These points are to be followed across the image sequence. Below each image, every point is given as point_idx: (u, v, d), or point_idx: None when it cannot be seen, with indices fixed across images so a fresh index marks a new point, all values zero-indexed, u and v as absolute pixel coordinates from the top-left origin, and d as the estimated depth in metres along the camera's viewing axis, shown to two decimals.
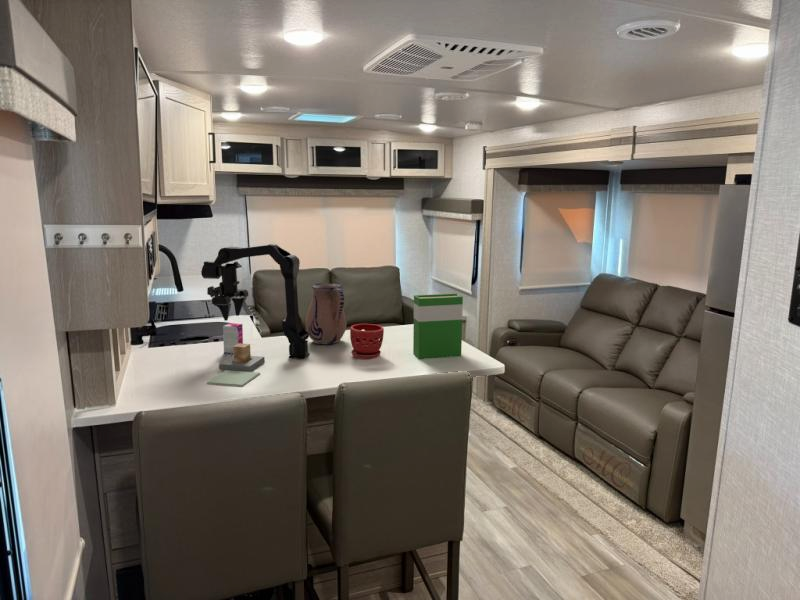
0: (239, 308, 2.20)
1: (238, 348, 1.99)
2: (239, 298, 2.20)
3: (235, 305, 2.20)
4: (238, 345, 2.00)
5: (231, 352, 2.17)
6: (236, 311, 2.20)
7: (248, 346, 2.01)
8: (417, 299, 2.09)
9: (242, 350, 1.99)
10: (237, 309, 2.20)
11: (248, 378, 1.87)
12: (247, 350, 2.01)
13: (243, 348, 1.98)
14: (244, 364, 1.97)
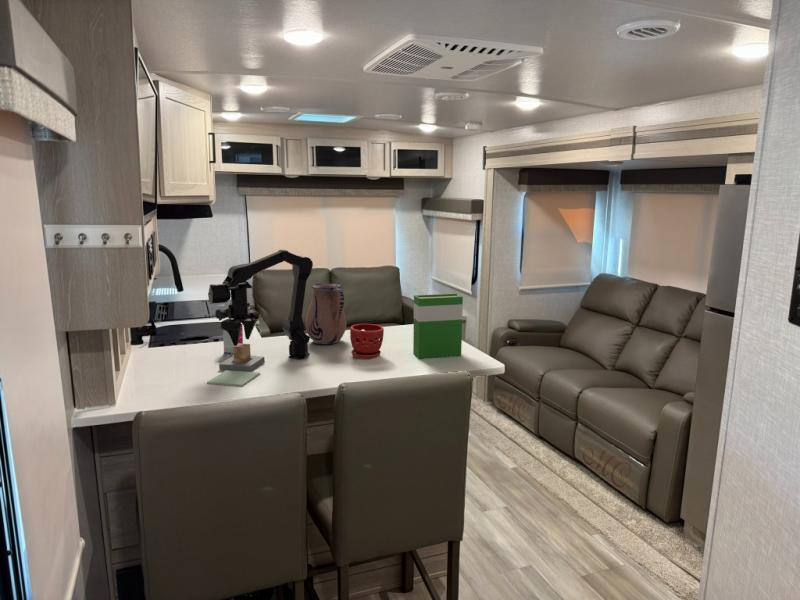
0: (249, 331, 2.04)
1: (238, 348, 1.99)
2: (249, 321, 2.04)
3: (245, 328, 2.05)
4: (238, 345, 2.00)
5: (231, 352, 2.17)
6: (246, 334, 2.05)
7: (248, 346, 2.01)
8: (417, 299, 2.09)
9: (242, 350, 1.99)
10: (247, 332, 2.04)
11: (248, 378, 1.87)
12: (247, 350, 2.01)
13: (243, 348, 1.98)
14: (244, 364, 1.97)
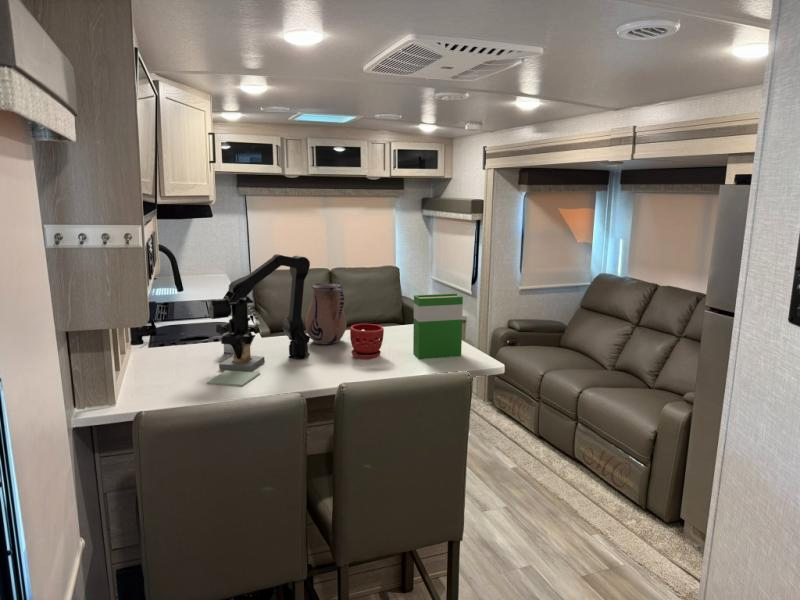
0: None
1: None
2: (247, 336, 2.03)
3: None
4: None
5: (231, 352, 2.17)
6: None
7: (248, 346, 2.01)
8: (417, 299, 2.09)
9: None
10: None
11: (248, 378, 1.87)
12: (247, 350, 2.01)
13: (243, 348, 1.98)
14: (244, 364, 1.97)
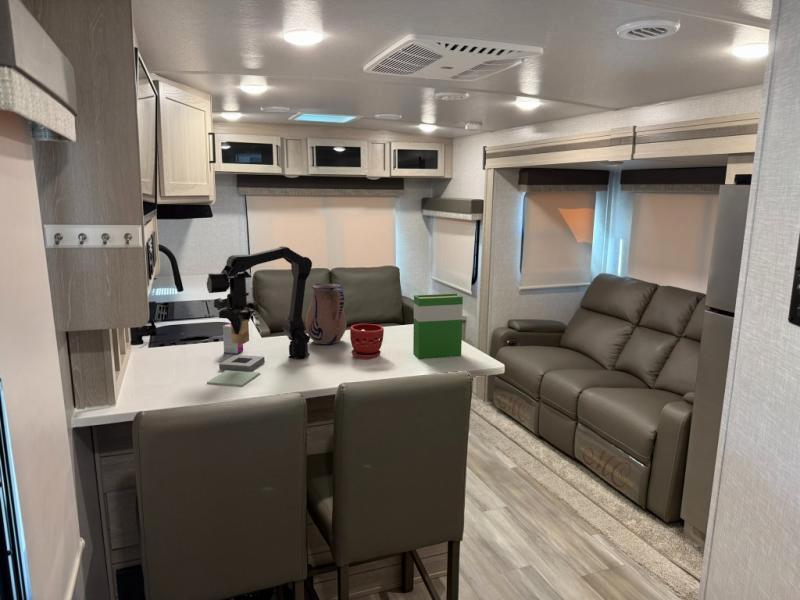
0: None
1: None
2: (245, 312, 2.01)
3: None
4: None
5: (231, 352, 2.17)
6: None
7: (246, 322, 1.99)
8: (417, 299, 2.09)
9: None
10: None
11: (248, 378, 1.87)
12: (245, 325, 1.98)
13: (241, 323, 1.96)
14: (244, 364, 1.97)
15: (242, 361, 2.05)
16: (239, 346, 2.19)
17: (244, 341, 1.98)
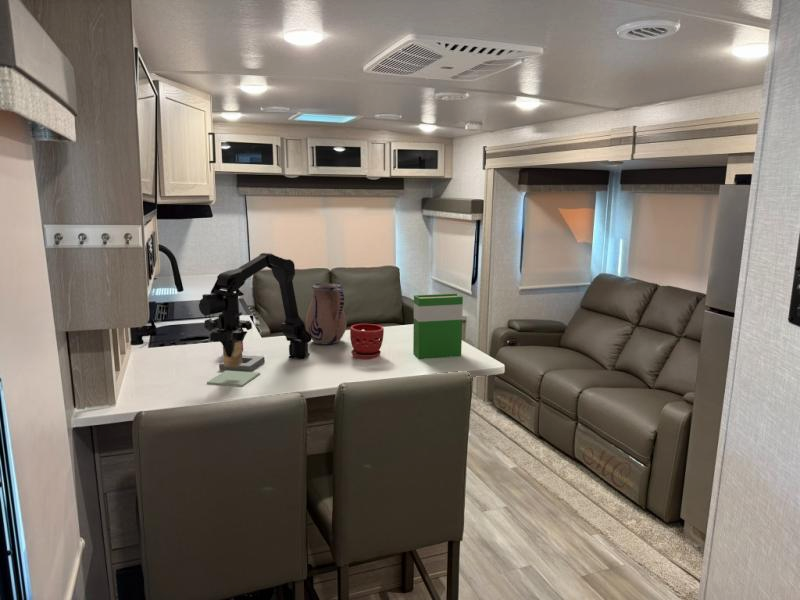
0: None
1: None
2: (238, 333, 1.88)
3: None
4: None
5: None
6: None
7: (239, 343, 1.86)
8: (417, 299, 2.09)
9: None
10: None
11: (248, 378, 1.87)
12: (238, 347, 1.86)
13: (234, 345, 1.83)
14: (244, 364, 1.97)
15: (242, 361, 2.05)
16: None
17: (237, 364, 1.85)
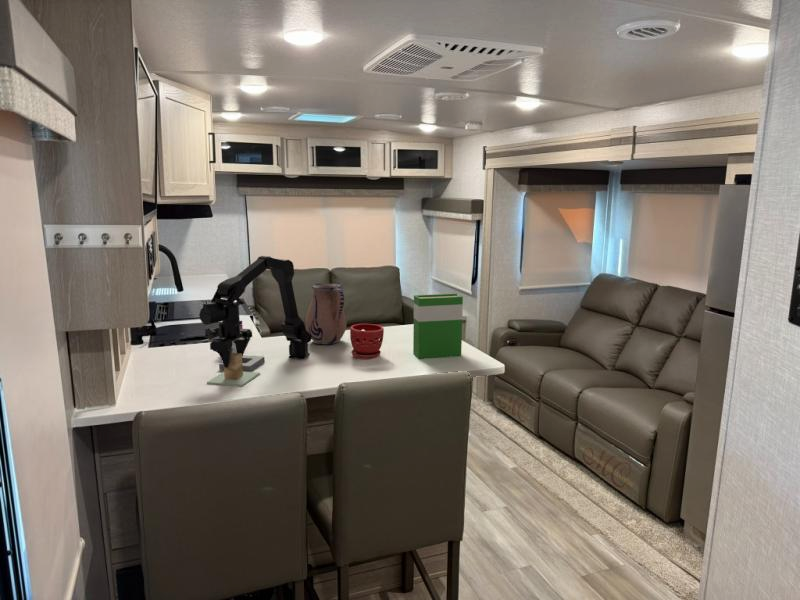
0: (242, 351, 1.91)
1: None
2: (242, 339, 1.91)
3: (237, 347, 1.91)
4: None
5: None
6: None
7: (240, 356, 1.87)
8: (417, 299, 2.09)
9: (233, 360, 1.84)
10: (239, 352, 1.91)
11: (248, 378, 1.87)
12: (239, 360, 1.87)
13: (234, 358, 1.84)
14: (244, 364, 1.97)
15: (242, 361, 2.05)
16: None
17: (237, 377, 1.86)
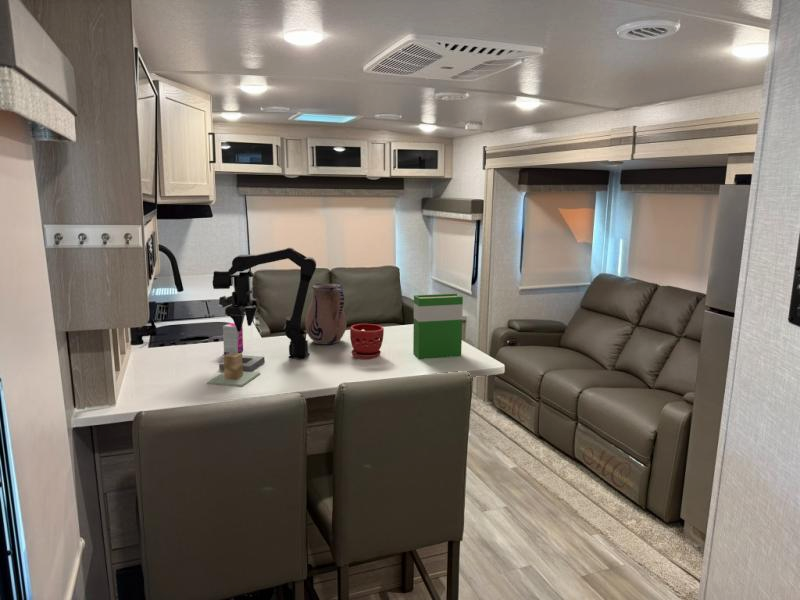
0: (251, 318, 2.13)
1: (229, 358, 1.84)
2: (251, 308, 2.13)
3: (247, 315, 2.14)
4: (229, 355, 1.86)
5: (231, 352, 2.17)
6: (248, 321, 2.14)
7: (240, 356, 1.87)
8: (417, 299, 2.09)
9: (233, 360, 1.84)
10: (249, 319, 2.14)
11: (248, 378, 1.87)
12: (239, 360, 1.87)
13: (234, 358, 1.84)
14: (244, 364, 1.97)
15: (242, 361, 2.05)
16: (239, 346, 2.19)
17: (237, 377, 1.86)
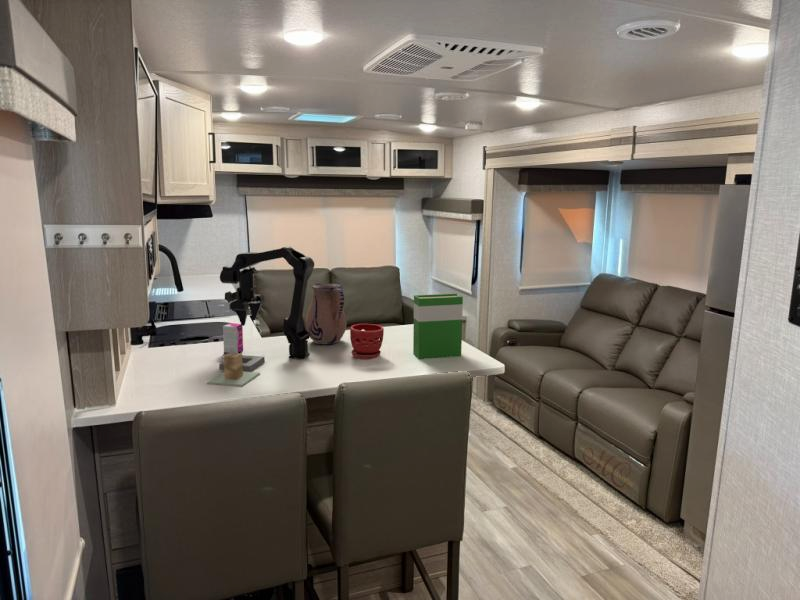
0: (255, 313, 2.22)
1: (229, 358, 1.84)
2: (255, 303, 2.22)
3: (251, 310, 2.22)
4: (229, 355, 1.86)
5: (231, 352, 2.17)
6: (252, 316, 2.22)
7: (240, 356, 1.87)
8: (417, 299, 2.09)
9: (233, 360, 1.84)
10: (253, 314, 2.22)
11: (248, 378, 1.87)
12: (239, 360, 1.87)
13: (234, 358, 1.84)
14: (244, 364, 1.97)
15: (242, 361, 2.05)
16: (239, 346, 2.19)
17: (237, 377, 1.86)
